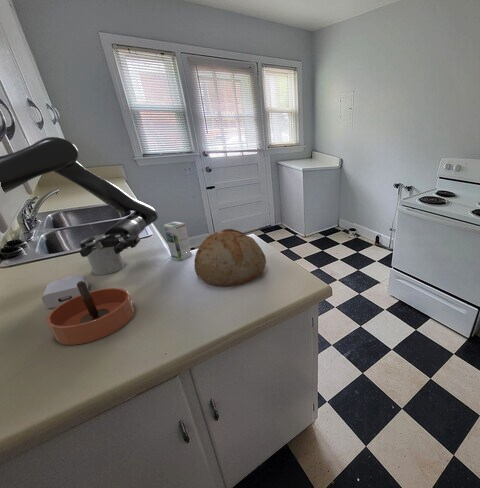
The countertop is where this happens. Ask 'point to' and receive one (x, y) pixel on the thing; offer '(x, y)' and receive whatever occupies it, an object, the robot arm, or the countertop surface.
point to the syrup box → (177, 240)
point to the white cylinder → (104, 259)
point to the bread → (229, 259)
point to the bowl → (73, 332)
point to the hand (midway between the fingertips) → (99, 252)
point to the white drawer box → (62, 290)
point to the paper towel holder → (89, 304)
